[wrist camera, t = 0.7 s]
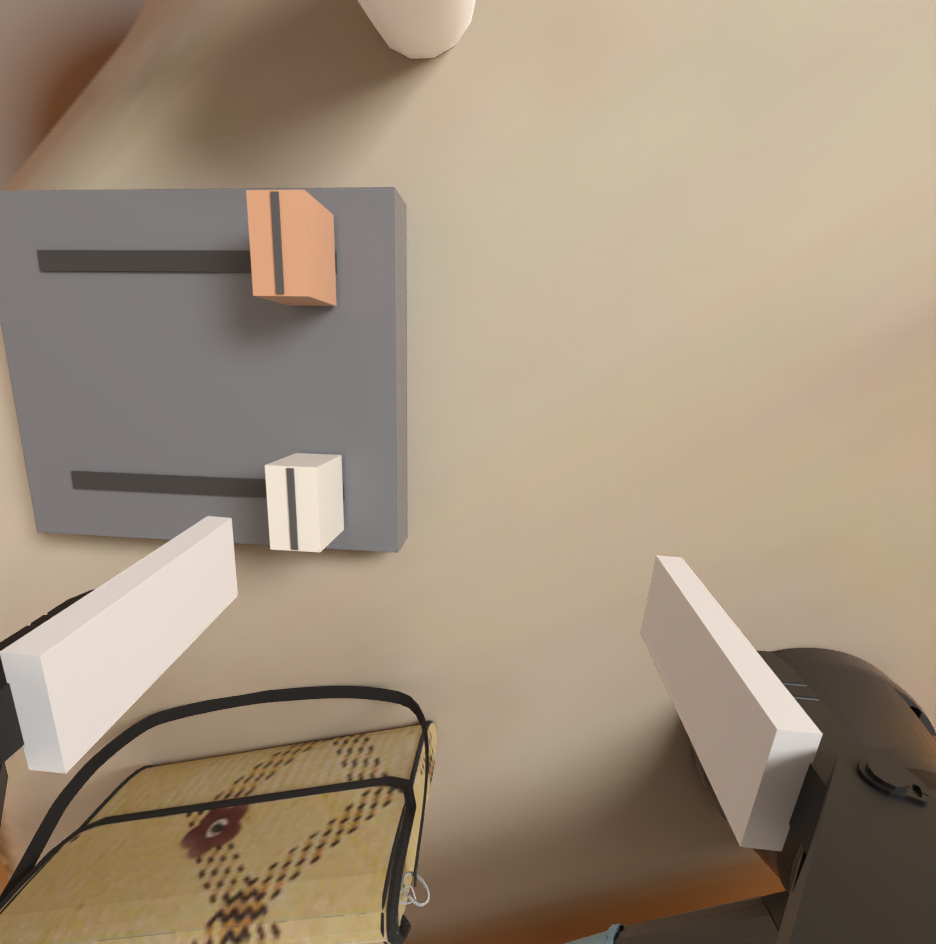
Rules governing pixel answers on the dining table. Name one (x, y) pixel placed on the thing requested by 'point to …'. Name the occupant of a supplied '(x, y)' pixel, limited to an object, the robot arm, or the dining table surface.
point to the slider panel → (199, 362)
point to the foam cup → (420, 24)
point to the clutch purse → (238, 842)
